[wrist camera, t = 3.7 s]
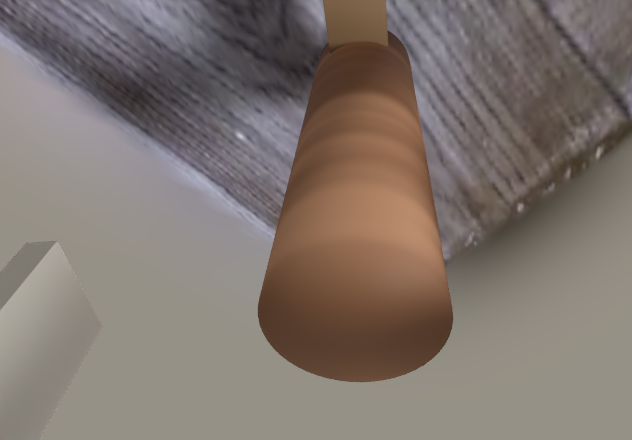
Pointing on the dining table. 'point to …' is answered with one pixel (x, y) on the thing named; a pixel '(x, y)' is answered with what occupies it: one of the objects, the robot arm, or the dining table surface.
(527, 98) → the dining table surface
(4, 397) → the robot arm
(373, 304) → the lever
